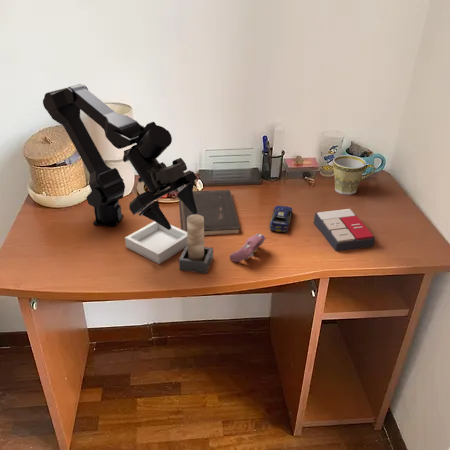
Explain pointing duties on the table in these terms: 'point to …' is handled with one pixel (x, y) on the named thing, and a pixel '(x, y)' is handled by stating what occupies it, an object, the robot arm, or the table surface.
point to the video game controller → (248, 248)
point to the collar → (196, 261)
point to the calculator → (343, 230)
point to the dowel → (195, 237)
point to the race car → (281, 218)
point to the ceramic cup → (349, 173)
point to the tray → (157, 242)
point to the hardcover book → (213, 212)
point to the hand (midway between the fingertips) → (183, 221)
